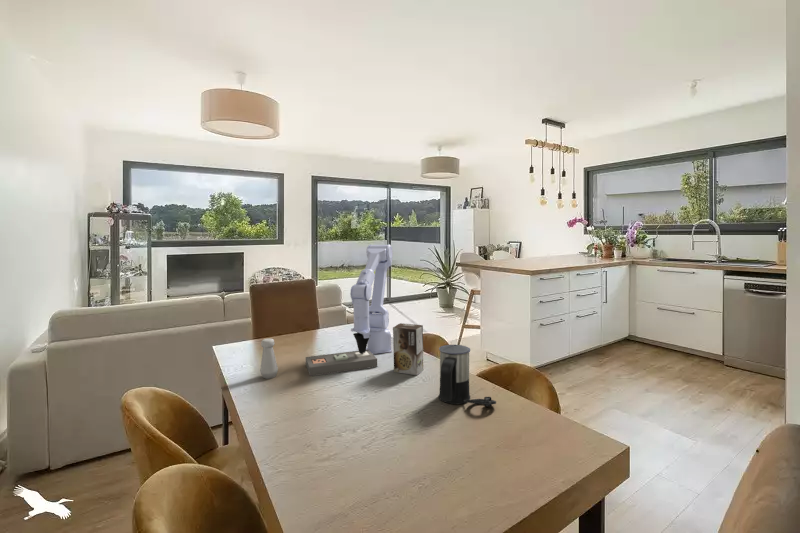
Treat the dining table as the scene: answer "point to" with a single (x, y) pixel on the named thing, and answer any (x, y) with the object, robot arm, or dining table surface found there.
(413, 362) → the printed cardboard box
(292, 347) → the dining table surface
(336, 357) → the button two
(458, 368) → the milk frother
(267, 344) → the salt shaker
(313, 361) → the button three
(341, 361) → the button board
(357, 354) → the button one
